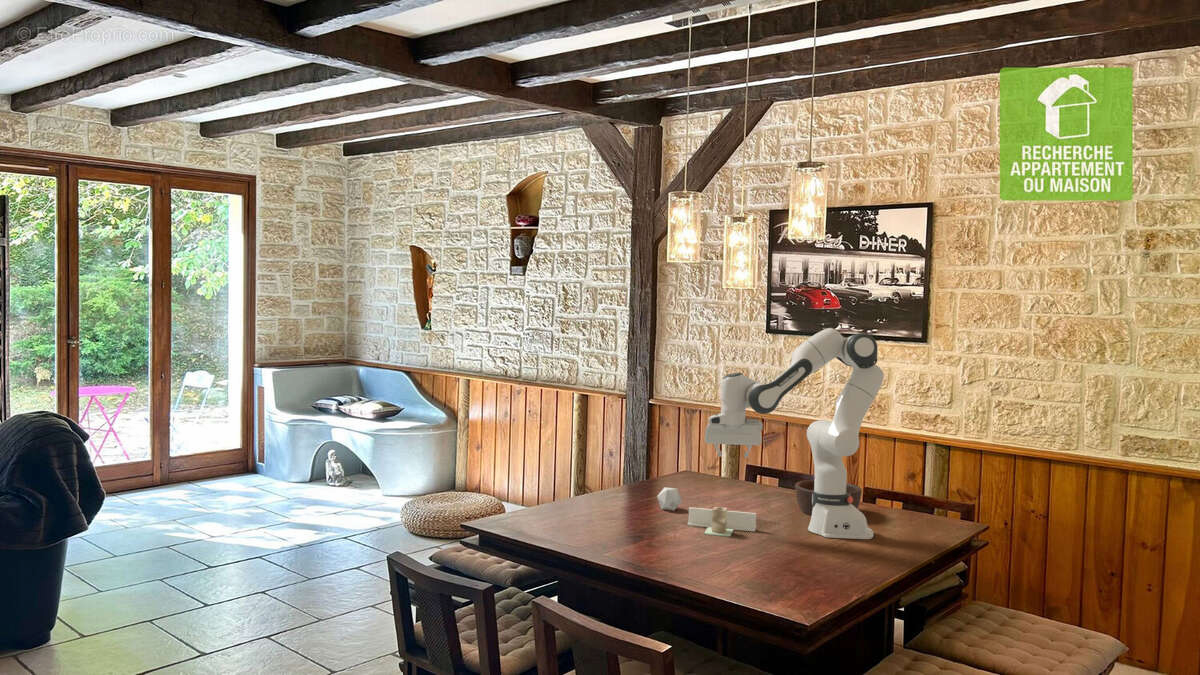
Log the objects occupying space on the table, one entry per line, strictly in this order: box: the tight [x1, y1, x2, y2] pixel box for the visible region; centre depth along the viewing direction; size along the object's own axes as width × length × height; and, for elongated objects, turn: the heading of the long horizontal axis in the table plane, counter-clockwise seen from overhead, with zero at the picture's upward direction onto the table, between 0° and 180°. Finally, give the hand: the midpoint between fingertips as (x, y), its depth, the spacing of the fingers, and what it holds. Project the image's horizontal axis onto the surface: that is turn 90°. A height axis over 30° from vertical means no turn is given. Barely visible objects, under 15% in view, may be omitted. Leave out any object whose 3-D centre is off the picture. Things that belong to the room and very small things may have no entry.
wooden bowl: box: [794, 479, 862, 516], centre depth 351 cm, size 25×25×10 cm
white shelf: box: [687, 506, 757, 532], centre depth 324 cm, size 24×4×6 cm, turn 75°
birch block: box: [712, 506, 728, 533], centre depth 317 cm, size 4×4×8 cm
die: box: [656, 486, 682, 511], centre depth 349 cm, size 8×9×10 cm
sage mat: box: [703, 527, 734, 538], centre depth 317 cm, size 9×9×1 cm
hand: (733, 456), depth 324 cm, fingers open, 8 cm apart
